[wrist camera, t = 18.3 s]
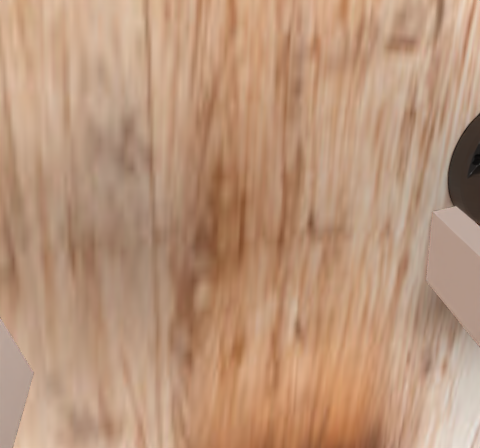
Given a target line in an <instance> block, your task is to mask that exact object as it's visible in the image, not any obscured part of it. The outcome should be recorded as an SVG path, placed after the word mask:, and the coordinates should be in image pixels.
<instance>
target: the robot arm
mask: <svg viewBox="0 0 480 448" xmlns="http://www.w3.org/2000/svg"><path fill="white" fill-rule="evenodd" d="M449 191H450V196H451V199H452V201H453V204H454V206H455V207H450V208H446V209H441V210H437V211H432V219H431V230H430V241H429V252H428V263H427V274H426V282H427V283H428V284H429V285H430V287H431V288H432V289H433V290H434V291H435V293H436V294H437V295H438V296H439V298H440V299H441V300H442V301H443V303H444V304H445V305H446V306H447V307H448V309H449V310H450V311H451V312H452V314H453V315H454V316H455V317H456V318H457V320H458V321H459V322H460V323H461V325H462V326H463V327H464V328H465V330H466V331H467V332H468V333H469V334H470V336H471V337H472V338H473V339H474V341H475V342H476V343H477V344H478V345H479V347H480V226H479V225H478V224H477V223H475V222H478V223H480V115H479V116H478V117H477V118H476V119H475V120H474V121H473V122H472V123H471V124H470V125H469V127H468V128H467V129H466V131H465V132H464V134H463V135H462V137H461V139H460V141H459V143H458V145H457V147H456V149H455V152H454V154H453V158H452V161H451V165H450V171H449ZM474 221H475V222H474ZM33 375H34V372H33V370H32V368H31V367H30V365H29V363H28V362H27V360H26V359H25V357H24V355H23V354H22V352H21V350H20V349H19V347H18V346H17V344H16V342H15V341H14V339H13V337H12V336H11V334H10V333H9V331H8V329H7V328H6V326H5V324H4V323H3V321H2V320H1V318H0V448H13V446H14V442H15V438H16V435H17V431H18V428H19V424H20V421H21V417H22V414H23V410H24V406H25V403H26V399H27V396H28V392H29V389H30V385H31V382H32V378H33Z"/></svg>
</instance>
